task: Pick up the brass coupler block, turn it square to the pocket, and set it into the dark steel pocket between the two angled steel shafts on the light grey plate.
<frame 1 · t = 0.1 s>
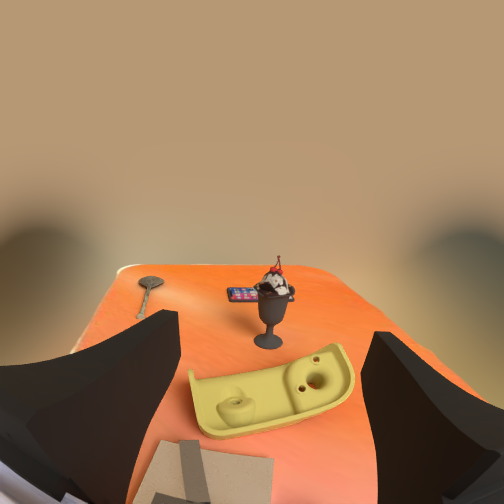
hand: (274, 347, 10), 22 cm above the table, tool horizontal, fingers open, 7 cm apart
soupspoon: (147, 299, 63), on the table
plastic component: (269, 408, 34), on the table
sundae: (268, 342, 49), on the table
smartphone: (259, 297, 69), on the table
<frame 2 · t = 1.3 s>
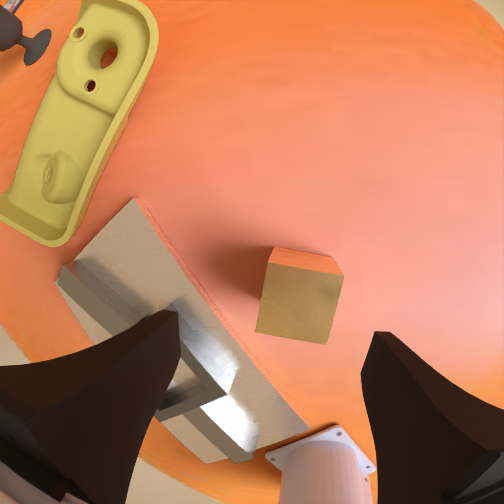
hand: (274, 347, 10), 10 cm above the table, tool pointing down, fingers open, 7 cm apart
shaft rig: (173, 356, 23), on the table
plastic component: (90, 125, 21), on the table
coupler: (298, 280, 20), on the table
sundae: (38, 47, 20), on the table
smartphone: (10, 12, 20), on the table
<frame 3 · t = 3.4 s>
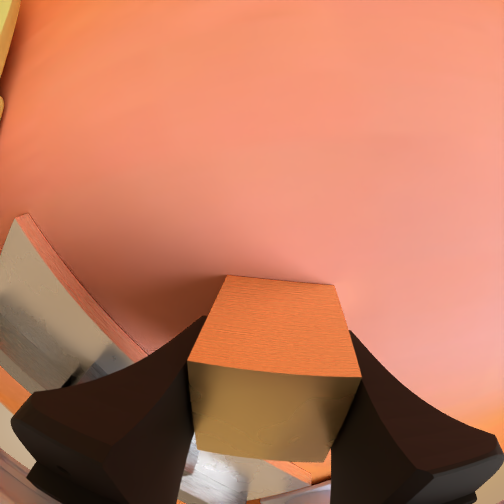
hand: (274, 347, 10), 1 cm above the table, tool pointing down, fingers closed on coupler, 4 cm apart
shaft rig: (123, 413, 15), on the table
coupler: (275, 325, 11), on the table, touching gripper
when the fingers open (4 cm above the table, at t = 7.3 s): coupler stays where it is, resting on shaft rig.
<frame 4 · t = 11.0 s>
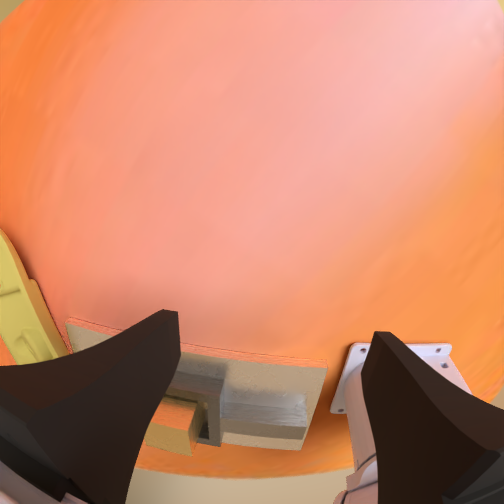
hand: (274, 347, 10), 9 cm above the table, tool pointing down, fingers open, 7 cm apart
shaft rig: (186, 393, 24), on the table
plastic component: (26, 296, 24), on the table
coupler: (182, 396, 23), point 1 cm above the table, touching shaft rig
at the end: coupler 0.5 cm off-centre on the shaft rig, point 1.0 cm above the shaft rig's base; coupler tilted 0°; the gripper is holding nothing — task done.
